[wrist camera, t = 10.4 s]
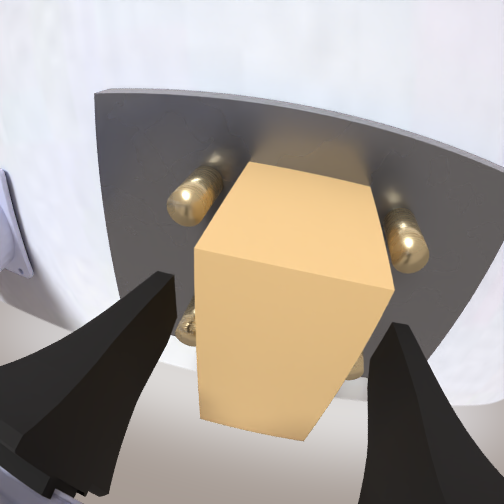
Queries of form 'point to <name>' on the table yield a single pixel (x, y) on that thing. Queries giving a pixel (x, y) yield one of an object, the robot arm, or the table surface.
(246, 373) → the ochre block
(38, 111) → the table surface
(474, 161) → the chassis plate
